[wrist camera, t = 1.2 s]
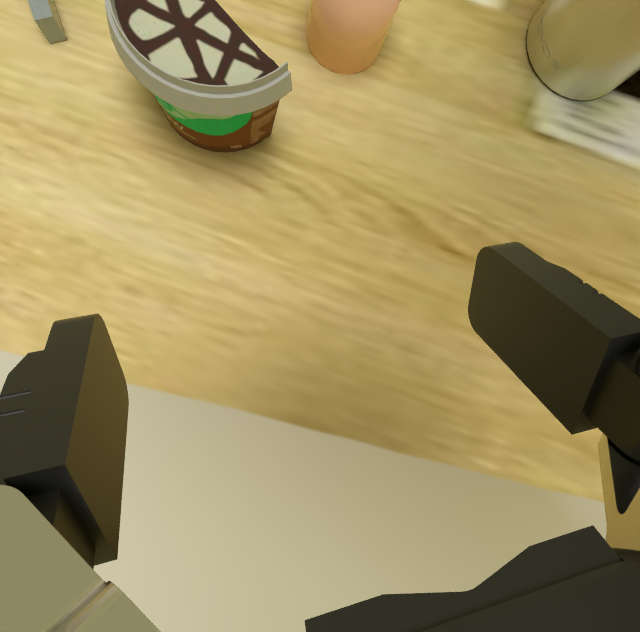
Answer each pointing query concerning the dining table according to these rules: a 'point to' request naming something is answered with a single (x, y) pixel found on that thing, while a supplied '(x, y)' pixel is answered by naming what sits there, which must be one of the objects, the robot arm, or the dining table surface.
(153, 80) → the food container
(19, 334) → the dining table surface
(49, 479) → the robot arm
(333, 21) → the peach rounded cylinder
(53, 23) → the frame
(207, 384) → the dining table surface
